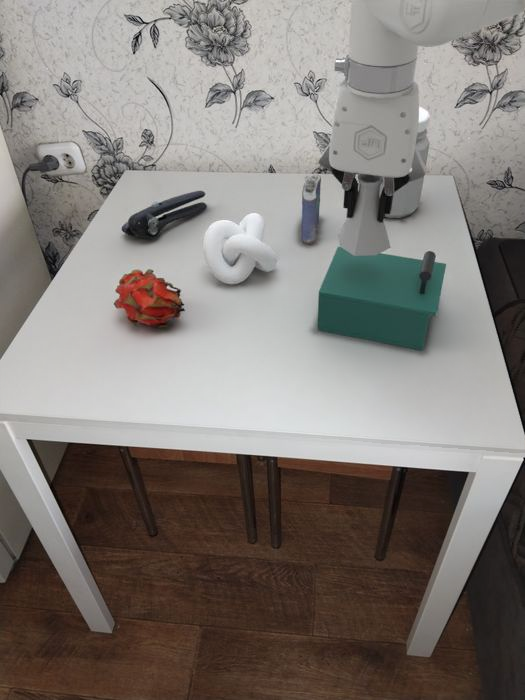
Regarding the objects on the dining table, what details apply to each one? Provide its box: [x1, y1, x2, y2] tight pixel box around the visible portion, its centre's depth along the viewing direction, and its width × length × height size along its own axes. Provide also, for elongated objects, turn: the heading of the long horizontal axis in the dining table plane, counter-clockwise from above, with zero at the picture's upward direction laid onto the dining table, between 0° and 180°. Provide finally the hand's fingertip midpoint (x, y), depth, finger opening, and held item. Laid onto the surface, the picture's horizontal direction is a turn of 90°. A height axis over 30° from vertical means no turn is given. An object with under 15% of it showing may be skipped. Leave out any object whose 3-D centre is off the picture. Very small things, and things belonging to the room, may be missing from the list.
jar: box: [379, 105, 431, 219], centre depth 106 cm, size 10×10×18 cm
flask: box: [338, 173, 392, 256], centre depth 79 cm, size 7×7×10 cm
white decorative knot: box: [202, 212, 278, 285], centre depth 97 cm, size 11×12×9 cm
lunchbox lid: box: [318, 246, 447, 317], centre depth 84 cm, size 16×12×5 cm
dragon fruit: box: [113, 269, 186, 329], centre depth 90 cm, size 8×8×12 cm
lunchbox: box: [316, 294, 431, 351], centre depth 88 cm, size 16×12×7 cm
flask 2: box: [301, 173, 322, 245], centre depth 104 cm, size 9×3×11 cm, turn 170°
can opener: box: [121, 190, 208, 240], centre depth 109 cm, size 18×7×6 cm, turn 131°
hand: (366, 213), depth 79 cm, fingers closed on flask, 3 cm apart
